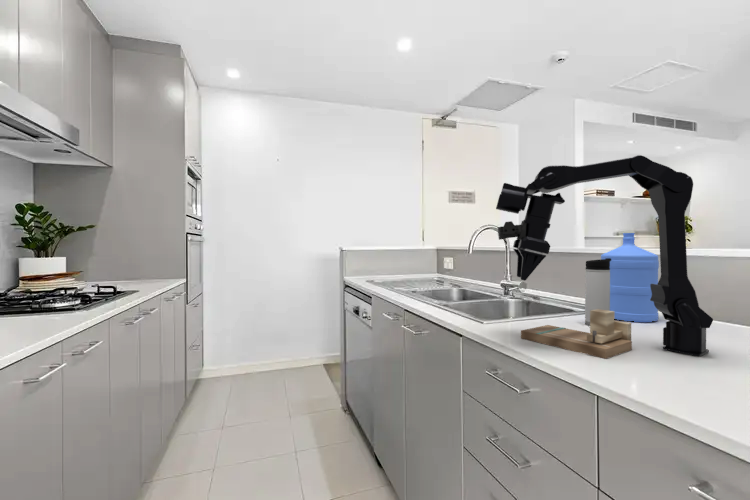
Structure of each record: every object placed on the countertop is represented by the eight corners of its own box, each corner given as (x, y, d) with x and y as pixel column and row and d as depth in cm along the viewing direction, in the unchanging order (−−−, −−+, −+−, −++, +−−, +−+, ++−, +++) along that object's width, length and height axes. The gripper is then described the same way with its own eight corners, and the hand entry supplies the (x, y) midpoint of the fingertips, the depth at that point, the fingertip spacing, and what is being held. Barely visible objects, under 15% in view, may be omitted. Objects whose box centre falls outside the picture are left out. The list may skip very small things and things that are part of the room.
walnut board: (631, 349, 81) (631, 340, 81) (605, 358, 74) (606, 348, 74) (547, 332, 98) (547, 324, 98) (520, 338, 91) (520, 330, 91)
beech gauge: (631, 344, 83) (631, 309, 83) (605, 352, 76) (606, 314, 76) (607, 339, 87) (607, 306, 87) (581, 347, 81) (582, 310, 81)
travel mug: (614, 328, 103) (615, 258, 103) (589, 327, 104) (590, 258, 104) (605, 323, 109) (605, 258, 109) (581, 322, 110) (582, 257, 110)
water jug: (671, 323, 110) (672, 232, 109) (620, 323, 110) (620, 232, 109) (635, 313, 125) (635, 234, 125) (590, 313, 125) (590, 234, 125)
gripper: (502, 214, 100) (487, 268, 101) (507, 207, 82) (489, 272, 83) (544, 223, 97) (528, 278, 98) (558, 217, 79) (539, 285, 80)
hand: (520, 278), depth 90 cm, fingers open, 9 cm apart
